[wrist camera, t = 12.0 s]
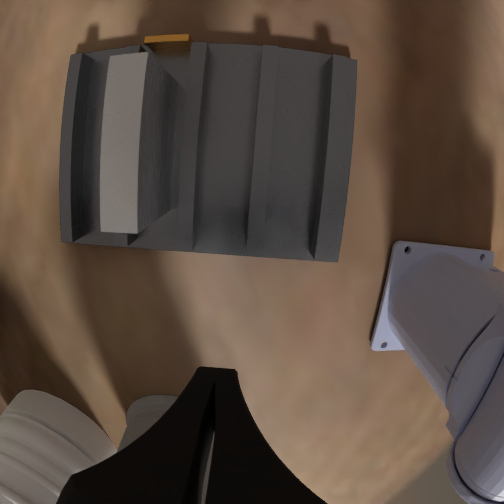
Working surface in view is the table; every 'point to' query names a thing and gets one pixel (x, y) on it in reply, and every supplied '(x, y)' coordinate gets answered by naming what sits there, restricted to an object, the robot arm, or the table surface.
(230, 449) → the robot arm
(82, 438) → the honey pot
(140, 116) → the panel
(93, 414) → the table surface
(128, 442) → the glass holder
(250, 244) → the rack
